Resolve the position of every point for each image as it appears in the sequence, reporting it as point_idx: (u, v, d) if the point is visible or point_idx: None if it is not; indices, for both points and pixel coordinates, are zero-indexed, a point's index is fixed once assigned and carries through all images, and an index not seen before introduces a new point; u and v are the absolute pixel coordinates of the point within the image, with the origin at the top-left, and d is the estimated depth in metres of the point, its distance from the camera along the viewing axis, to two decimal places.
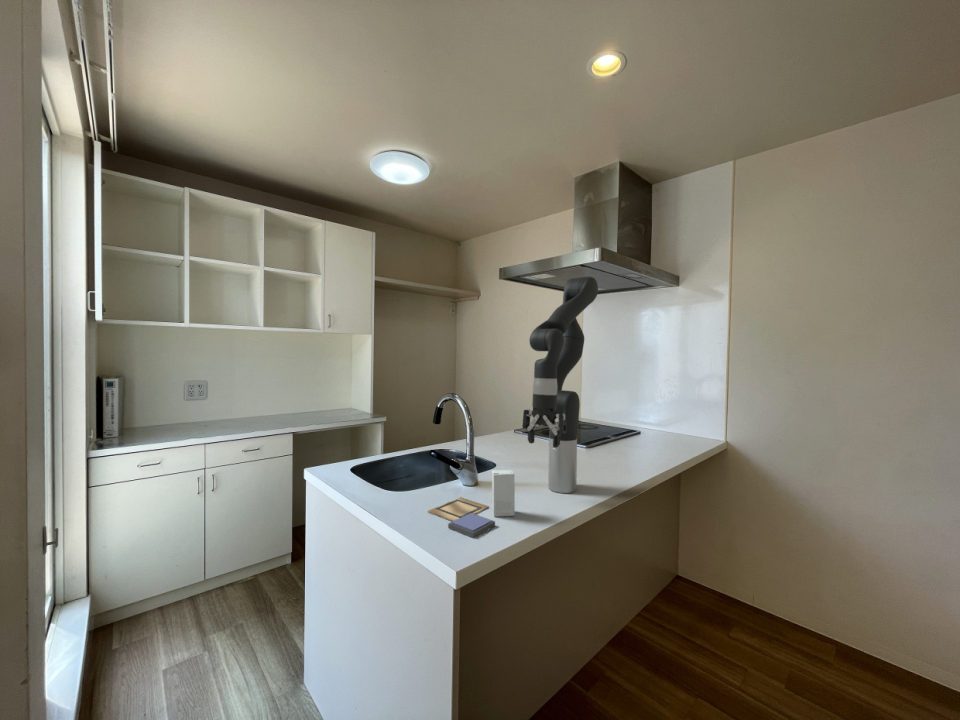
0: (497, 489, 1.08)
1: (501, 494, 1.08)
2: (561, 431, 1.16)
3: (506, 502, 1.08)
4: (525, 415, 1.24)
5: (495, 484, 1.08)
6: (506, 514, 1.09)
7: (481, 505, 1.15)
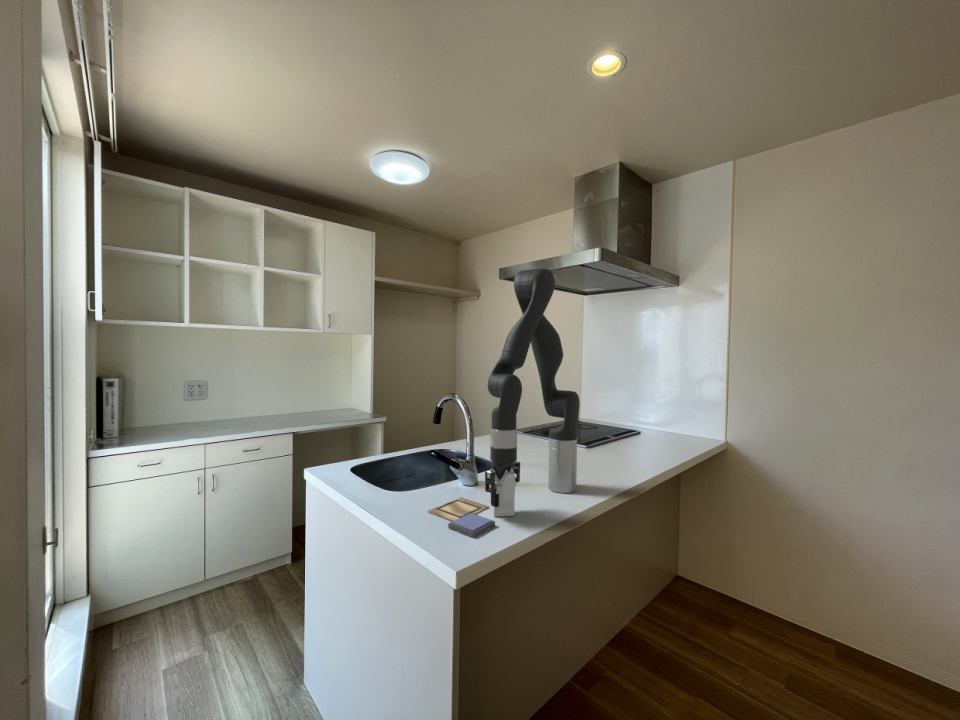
0: None
1: (501, 494, 1.08)
2: (519, 479, 1.14)
3: (506, 502, 1.08)
4: (493, 478, 1.05)
5: (495, 484, 1.08)
6: (506, 514, 1.09)
7: (481, 505, 1.15)
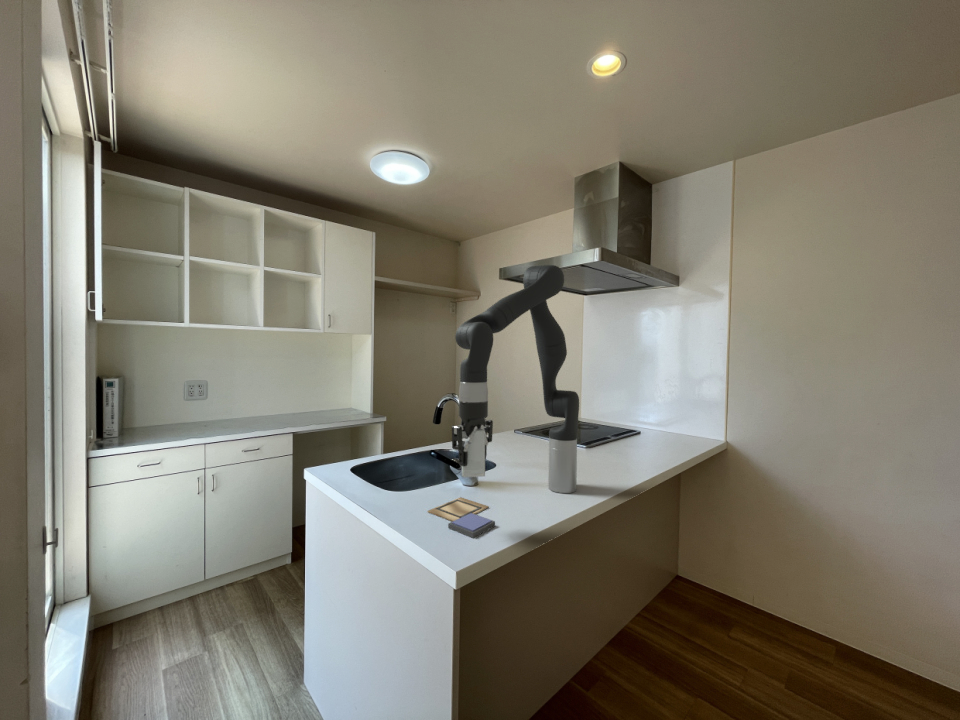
0: None
1: (470, 453, 1.00)
2: (491, 439, 1.06)
3: (475, 461, 1.00)
4: (461, 433, 0.96)
5: None
6: (476, 474, 1.00)
7: (481, 505, 1.15)
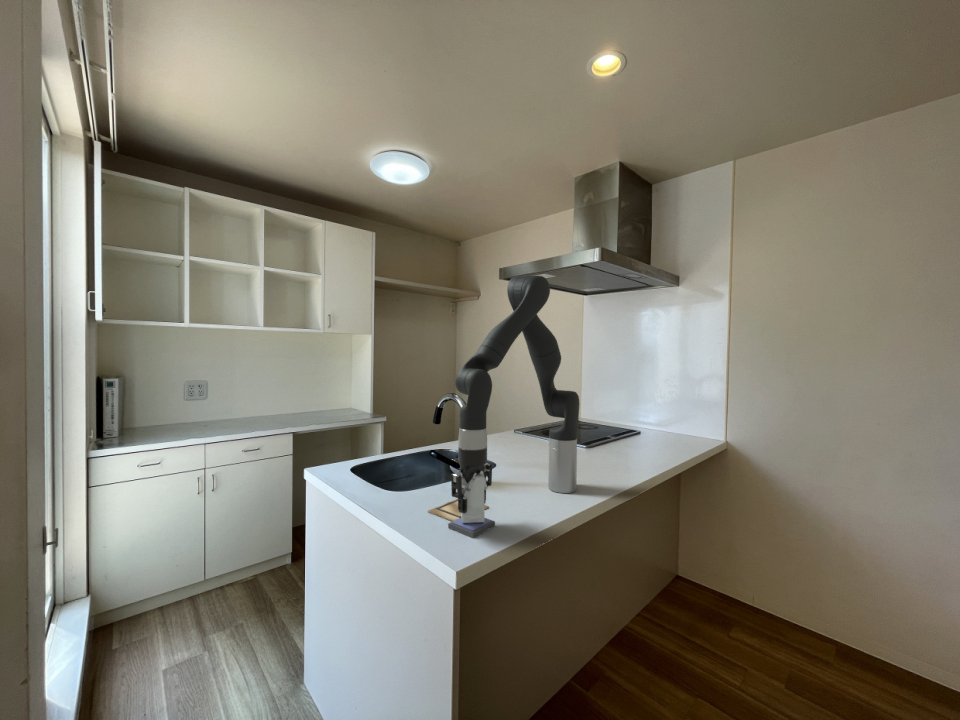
0: None
1: (470, 499, 1.00)
2: (490, 483, 1.06)
3: (475, 507, 1.00)
4: (460, 481, 0.97)
5: None
6: (475, 520, 1.00)
7: None
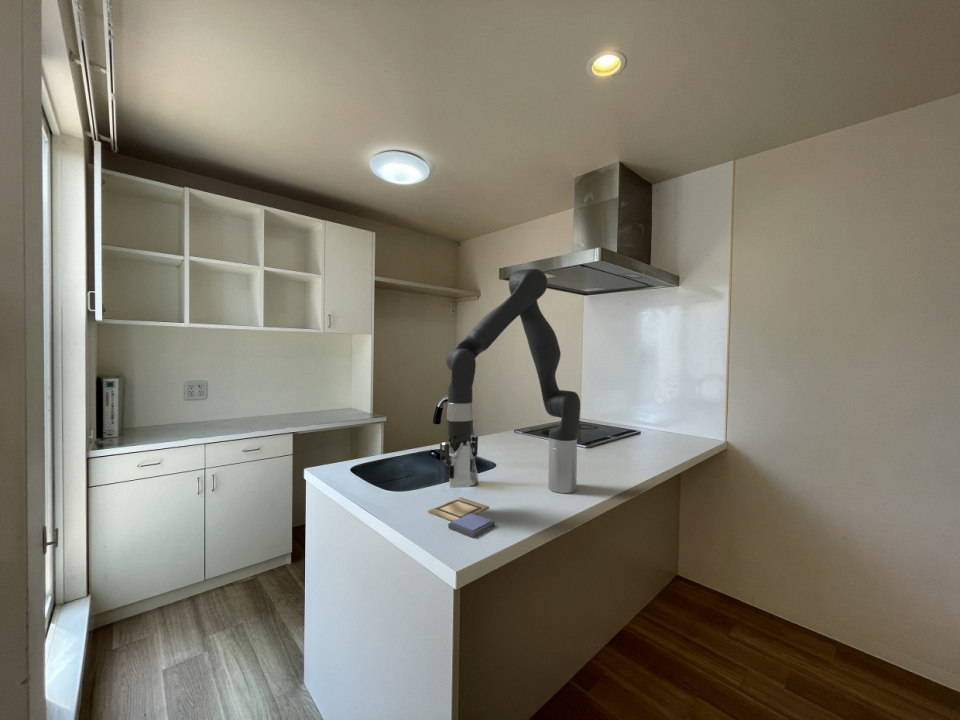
0: None
1: (457, 466, 1.11)
2: (476, 453, 1.17)
3: (461, 474, 1.11)
4: (448, 449, 1.07)
5: None
6: (462, 485, 1.11)
7: (481, 505, 1.15)
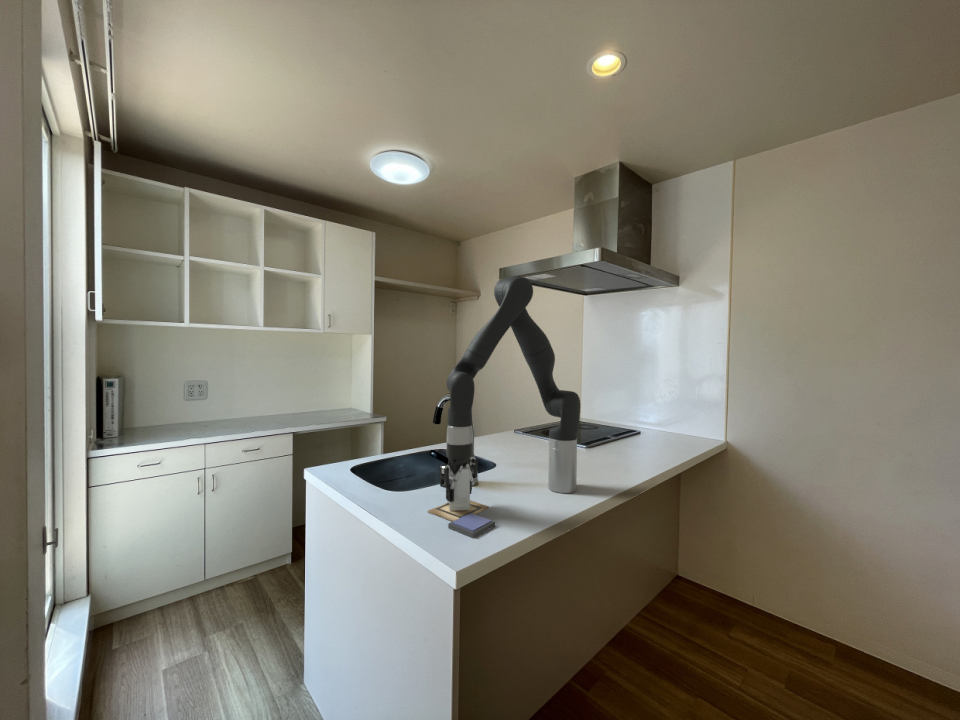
0: None
1: (457, 489, 1.11)
2: (476, 475, 1.17)
3: (461, 497, 1.11)
4: (448, 473, 1.07)
5: None
6: (461, 508, 1.11)
7: (481, 505, 1.15)
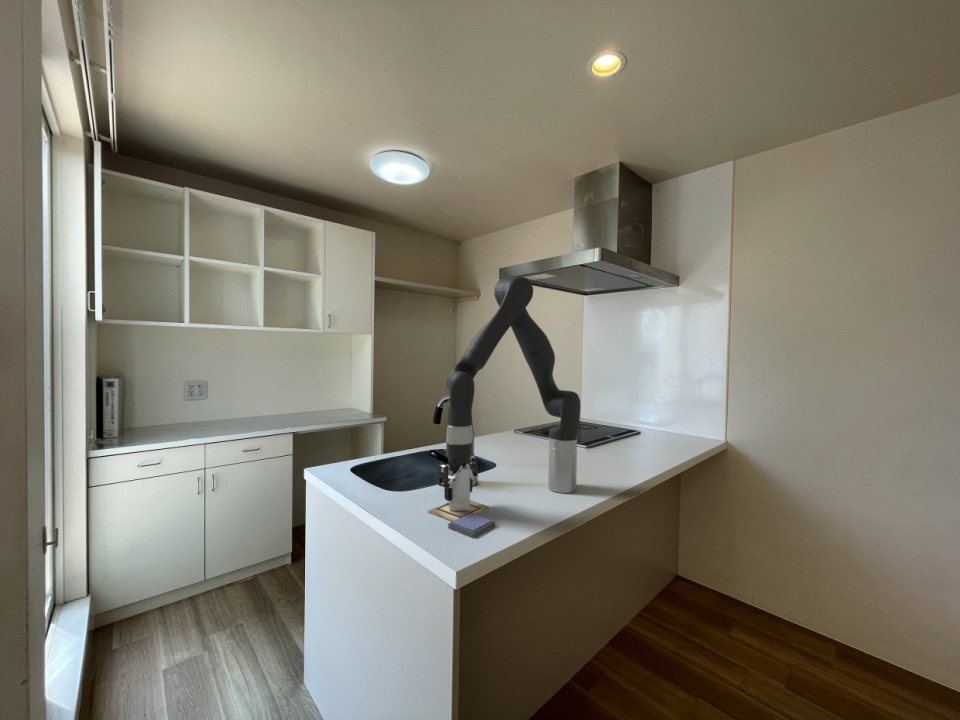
0: None
1: (457, 489, 1.11)
2: (477, 473, 1.17)
3: (461, 497, 1.11)
4: (447, 472, 1.07)
5: None
6: (461, 508, 1.11)
7: (481, 505, 1.15)
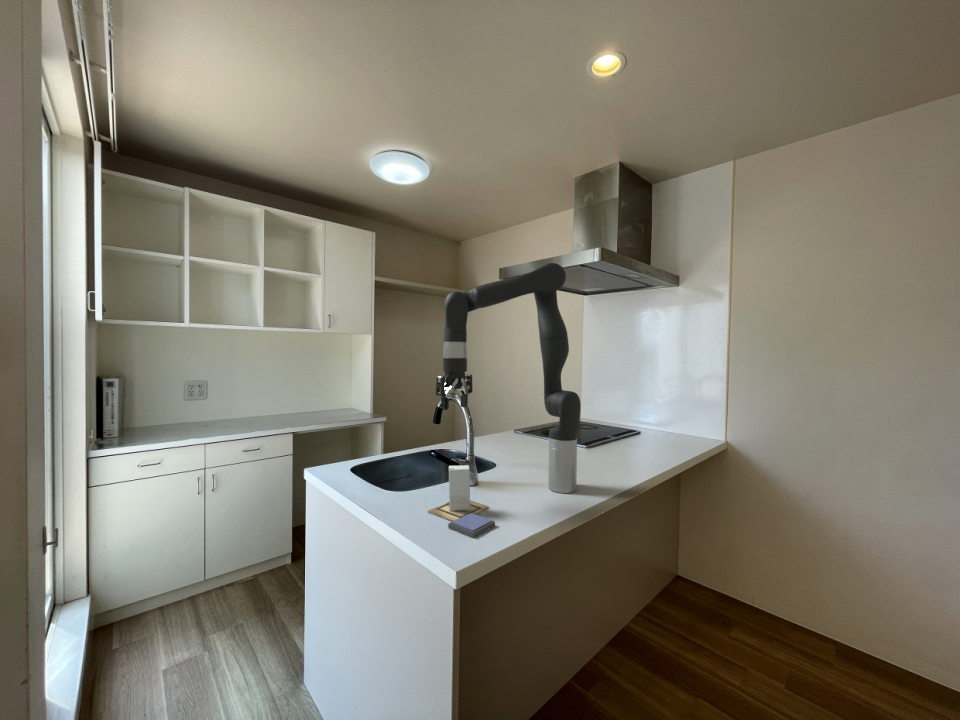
0: (452, 484, 1.11)
1: (457, 489, 1.11)
2: (471, 390, 1.26)
3: (461, 497, 1.11)
4: (444, 382, 1.16)
5: (450, 479, 1.11)
6: (461, 508, 1.11)
7: (481, 505, 1.15)
